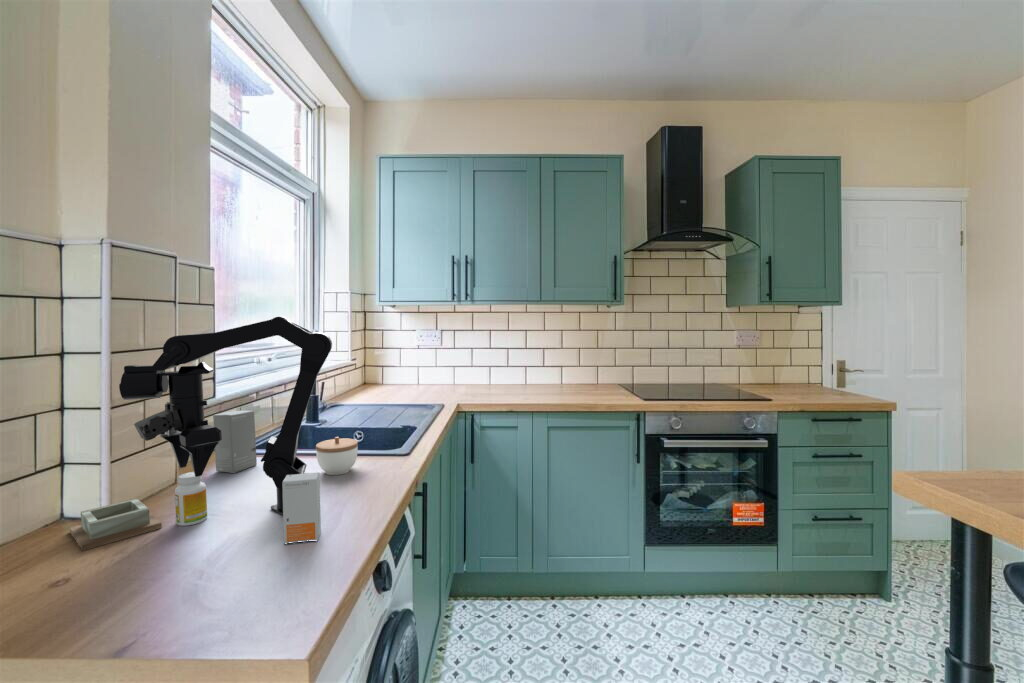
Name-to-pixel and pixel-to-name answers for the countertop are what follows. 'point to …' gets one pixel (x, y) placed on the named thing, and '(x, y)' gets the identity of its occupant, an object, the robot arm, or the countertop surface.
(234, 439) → the skincare box
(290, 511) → the skincare box
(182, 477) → the supplement bottle
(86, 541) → the socket board
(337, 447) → the lidded jar
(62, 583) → the countertop surface
